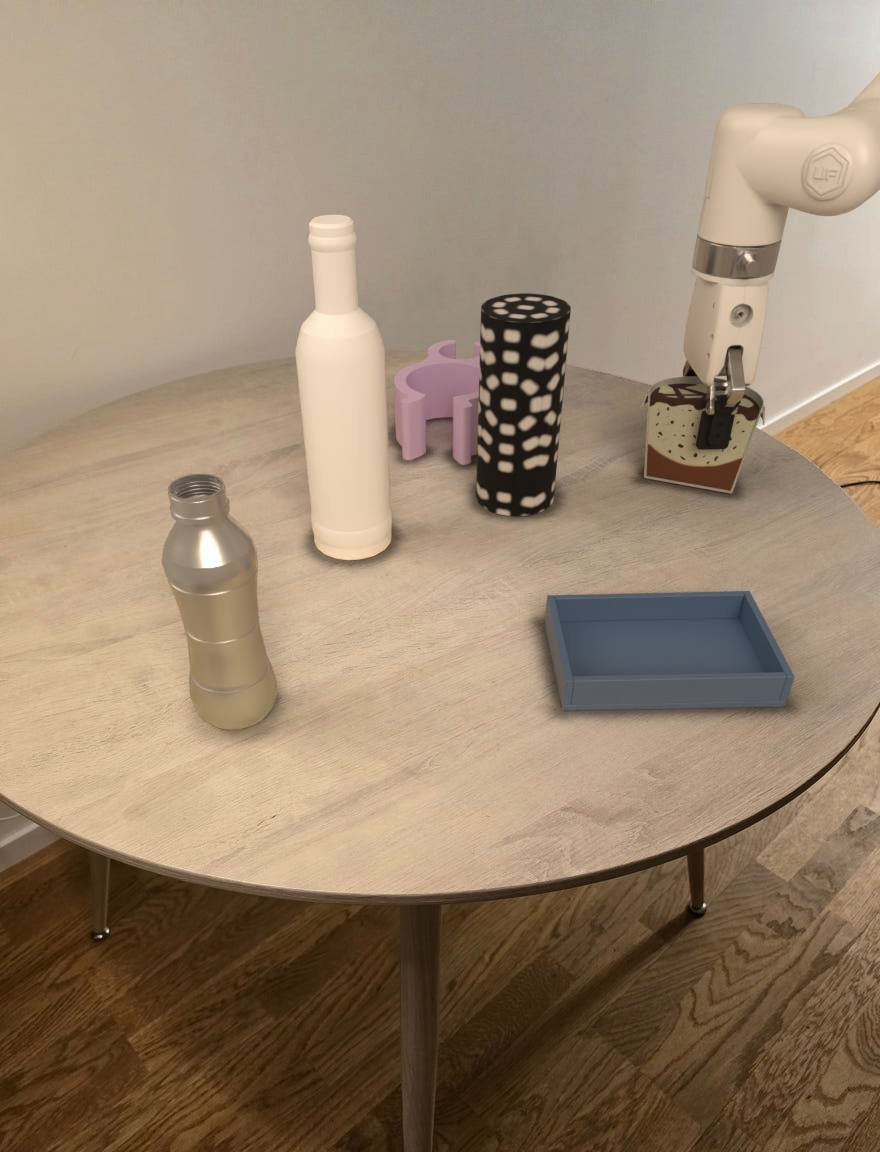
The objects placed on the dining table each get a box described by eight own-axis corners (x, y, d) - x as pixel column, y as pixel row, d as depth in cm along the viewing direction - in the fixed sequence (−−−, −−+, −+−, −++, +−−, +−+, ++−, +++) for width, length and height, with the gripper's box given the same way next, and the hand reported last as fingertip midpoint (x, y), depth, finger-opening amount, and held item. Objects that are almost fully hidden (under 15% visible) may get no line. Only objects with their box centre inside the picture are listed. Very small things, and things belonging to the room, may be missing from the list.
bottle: (389, 562, 86) (376, 232, 68) (308, 561, 87) (273, 233, 68) (394, 519, 93) (384, 206, 74) (319, 519, 93) (290, 207, 74)
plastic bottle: (221, 677, 74) (177, 456, 61) (295, 695, 72) (265, 471, 59) (179, 728, 69) (122, 501, 57) (256, 750, 67) (215, 519, 55)
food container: (754, 472, 99) (776, 384, 93) (746, 496, 94) (769, 405, 88) (642, 453, 103) (656, 367, 97) (630, 475, 98) (644, 387, 92)
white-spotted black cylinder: (465, 508, 94) (468, 317, 82) (489, 473, 100) (496, 289, 88) (541, 522, 91) (557, 327, 79) (562, 485, 97) (580, 298, 85)
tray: (742, 619, 78) (749, 590, 76) (785, 707, 69) (795, 676, 67) (544, 623, 78) (547, 594, 76) (562, 711, 69) (566, 681, 68)
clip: (419, 389, 119) (418, 337, 114) (512, 395, 116) (515, 343, 112) (382, 458, 104) (380, 401, 99) (489, 466, 101) (491, 409, 97)
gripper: (808, 284, 77) (762, 468, 88) (746, 231, 91) (713, 396, 102) (720, 287, 77) (685, 470, 88) (672, 233, 91) (647, 398, 102)
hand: (700, 429), depth 95 cm, fingers closed on food container, 7 cm apart
